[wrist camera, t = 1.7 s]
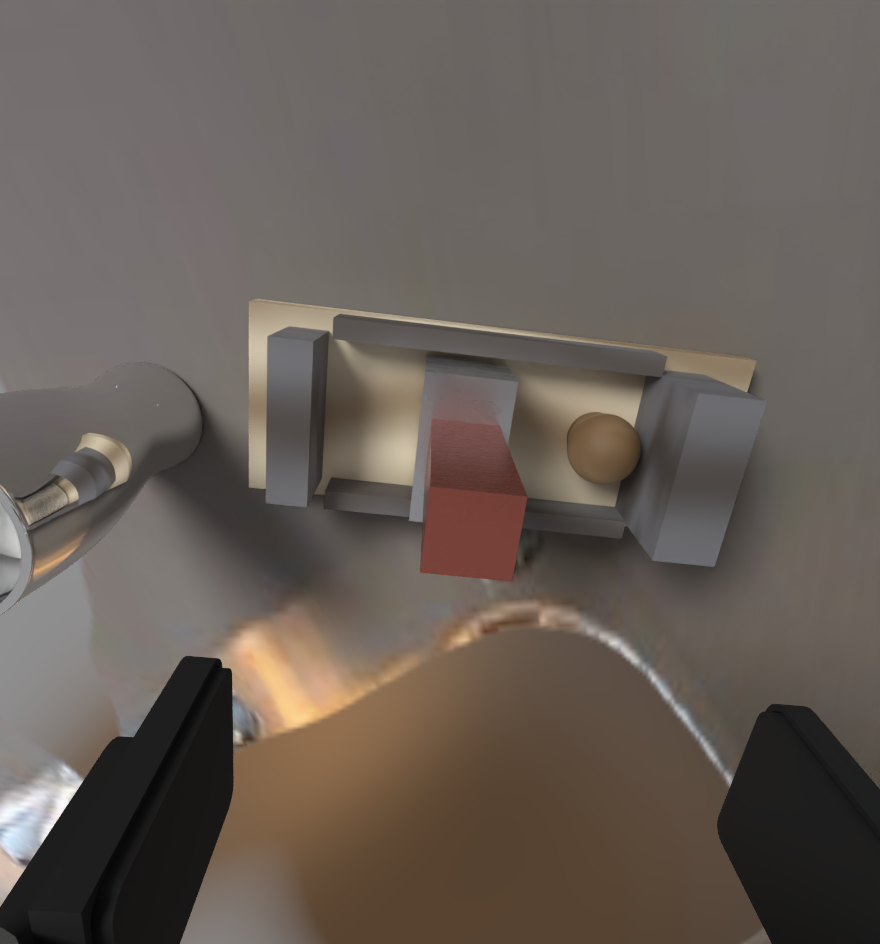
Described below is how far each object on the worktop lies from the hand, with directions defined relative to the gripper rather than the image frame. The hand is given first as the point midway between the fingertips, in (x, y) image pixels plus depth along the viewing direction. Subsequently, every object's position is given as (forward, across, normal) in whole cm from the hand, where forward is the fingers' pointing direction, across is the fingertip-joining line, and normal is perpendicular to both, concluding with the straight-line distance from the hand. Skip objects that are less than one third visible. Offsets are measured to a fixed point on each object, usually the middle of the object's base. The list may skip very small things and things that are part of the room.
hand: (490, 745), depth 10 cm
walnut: (+22, -8, 0) cm, 23 cm away
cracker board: (+23, -2, 0) cm, 23 cm away
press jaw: (+21, 0, 0) cm, 21 cm away
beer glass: (+24, +17, +2) cm, 29 cm away
